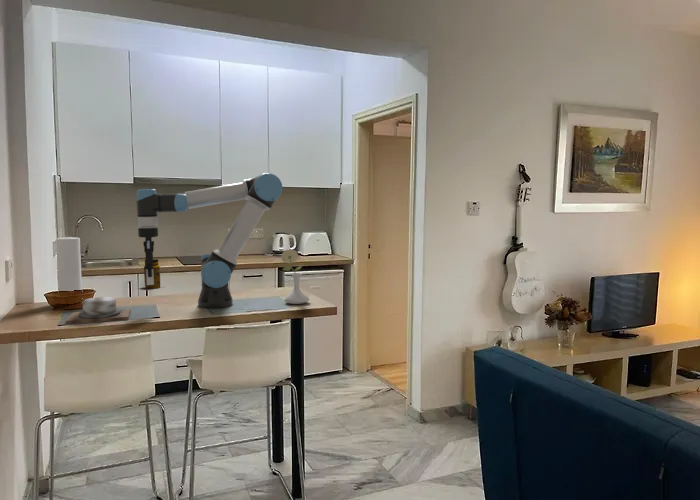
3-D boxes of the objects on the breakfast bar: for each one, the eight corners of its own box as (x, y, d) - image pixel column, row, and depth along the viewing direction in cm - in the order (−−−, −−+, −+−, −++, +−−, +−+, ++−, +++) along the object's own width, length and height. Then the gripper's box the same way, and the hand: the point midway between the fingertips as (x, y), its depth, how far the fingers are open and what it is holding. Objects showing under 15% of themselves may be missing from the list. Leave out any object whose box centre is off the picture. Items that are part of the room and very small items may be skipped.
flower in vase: (311, 301, 247) (311, 248, 245) (306, 306, 236) (306, 250, 234) (283, 300, 249) (283, 247, 246) (278, 305, 237) (277, 250, 235)
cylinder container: (72, 305, 234) (69, 238, 232) (54, 304, 236) (51, 237, 233) (87, 301, 244) (84, 236, 241) (69, 300, 246) (66, 236, 243)
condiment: (165, 287, 218) (163, 258, 217) (148, 290, 211) (147, 261, 209) (152, 286, 222) (151, 257, 220) (136, 289, 214) (134, 260, 213)
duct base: (131, 311, 222) (130, 295, 221) (128, 319, 208) (127, 301, 207) (72, 315, 215) (71, 297, 214) (66, 323, 201) (65, 305, 200)
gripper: (139, 226, 222) (141, 280, 224) (136, 228, 204) (139, 287, 206) (158, 225, 224) (160, 279, 226) (157, 228, 206) (160, 286, 209)
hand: (150, 283), depth 216 cm, fingers closed on condiment, 6 cm apart
